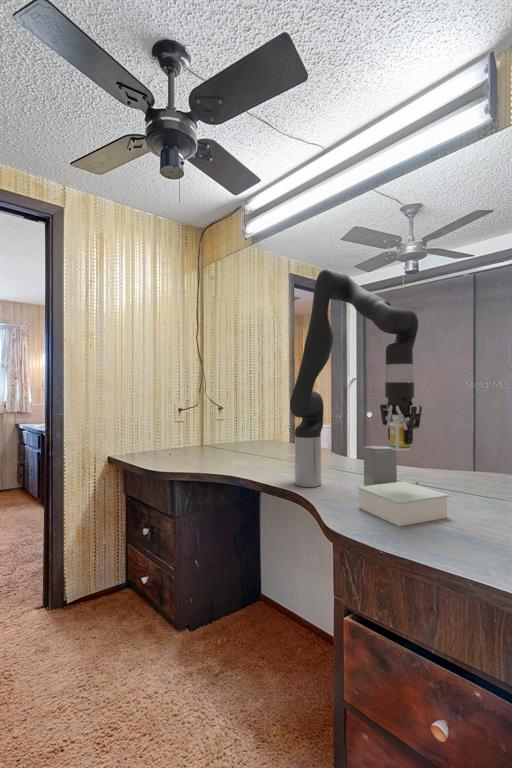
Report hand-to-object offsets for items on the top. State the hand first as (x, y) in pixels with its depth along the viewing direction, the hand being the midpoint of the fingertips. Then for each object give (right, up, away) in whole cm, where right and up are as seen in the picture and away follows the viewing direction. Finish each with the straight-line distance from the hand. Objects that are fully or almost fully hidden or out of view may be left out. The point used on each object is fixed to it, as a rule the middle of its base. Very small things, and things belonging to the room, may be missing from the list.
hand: (400, 442), depth 108 cm
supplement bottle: (0, -2, 0) cm, 2 cm away
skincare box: (-1, -20, +16) cm, 25 cm away
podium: (0, -19, 0) cm, 19 cm away
